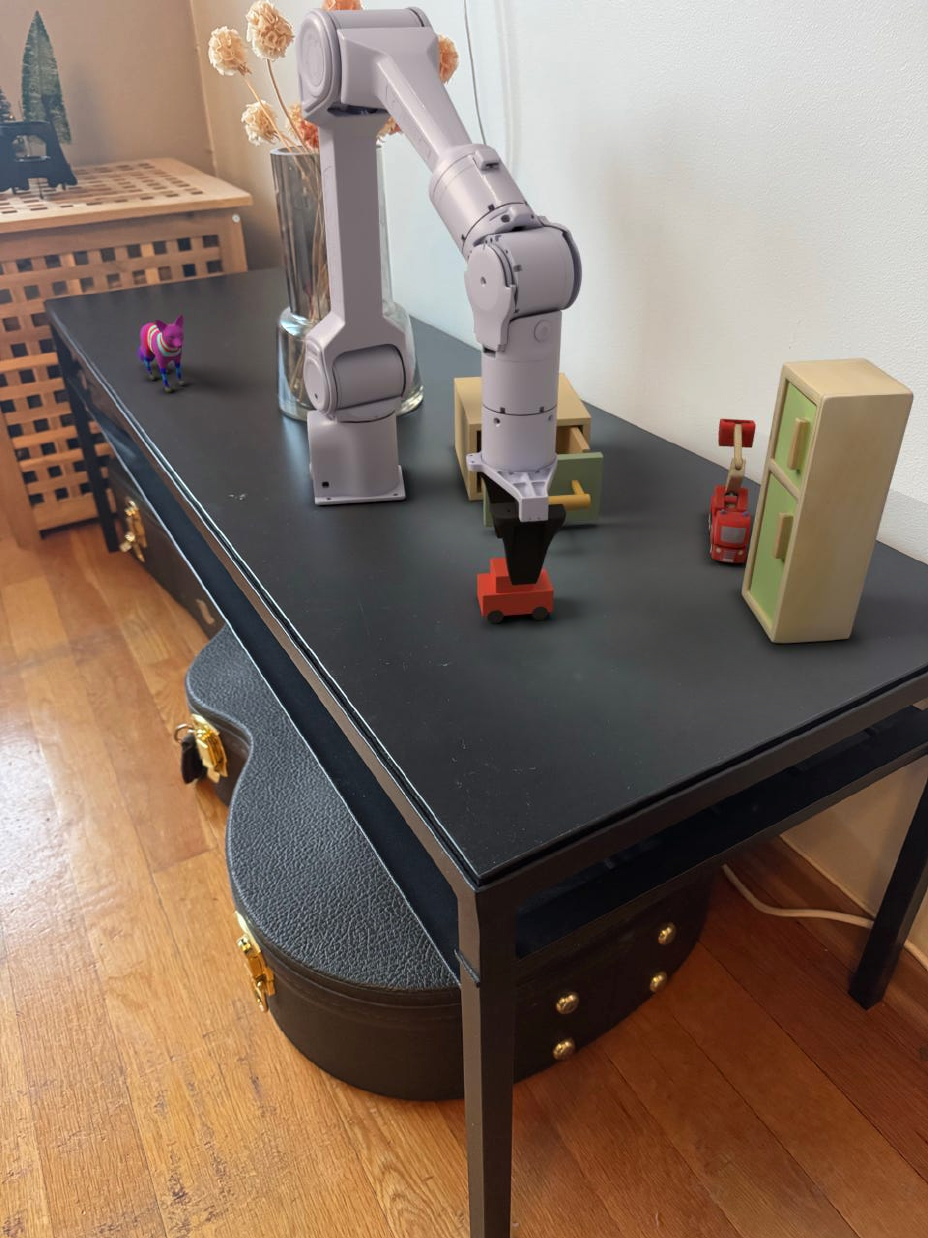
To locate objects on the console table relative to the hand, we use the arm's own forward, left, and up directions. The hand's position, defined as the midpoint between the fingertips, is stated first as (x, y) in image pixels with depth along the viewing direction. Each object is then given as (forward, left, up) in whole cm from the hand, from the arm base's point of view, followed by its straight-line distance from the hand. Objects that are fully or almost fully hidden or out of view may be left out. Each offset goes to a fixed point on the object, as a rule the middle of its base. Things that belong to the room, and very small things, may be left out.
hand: (515, 558), depth 75 cm
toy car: (0, 0, -5) cm, 5 cm away
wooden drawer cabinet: (+5, +28, -5) cm, 29 cm away
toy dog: (-39, +64, -5) cm, 75 cm away
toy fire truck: (+23, +11, -5) cm, 26 cm away
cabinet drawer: (+5, +17, -4) cm, 19 cm away
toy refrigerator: (+23, -4, -5) cm, 24 cm away
